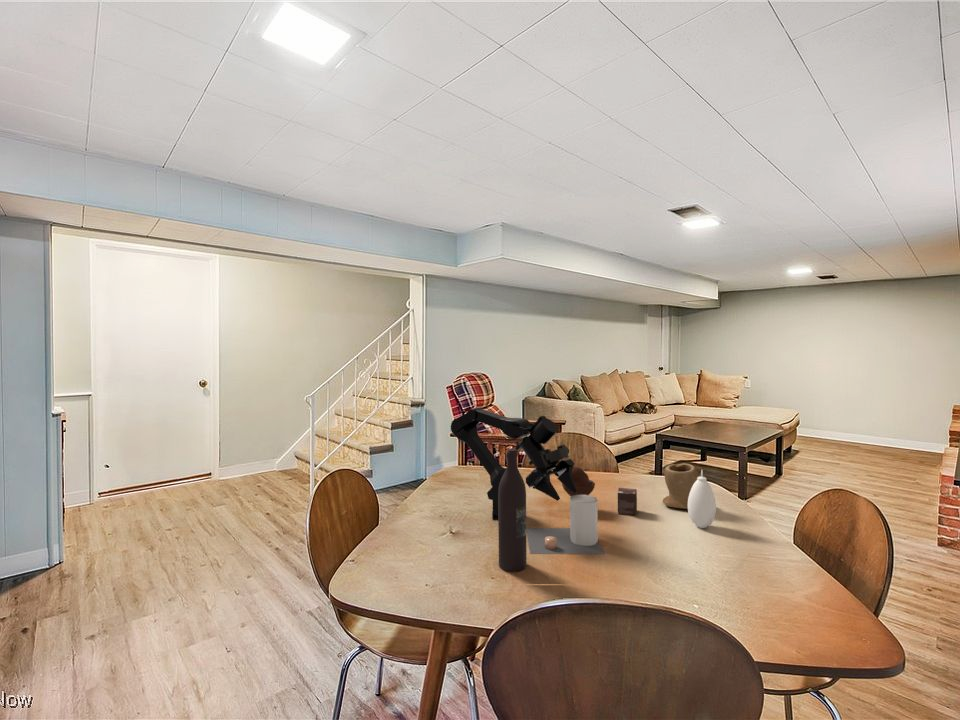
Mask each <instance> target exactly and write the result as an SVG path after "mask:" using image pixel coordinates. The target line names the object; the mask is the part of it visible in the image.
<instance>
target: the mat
mask: <svg viewBox="0 0 960 720" xmlns="http://www.w3.org/2000/svg"><path fill="white" fill-rule="evenodd" d="M548 536H553V537H556V538H557V549H555V550H548V549H546V548H545V537H548ZM526 539H527V543H528V544H527V545H528V548H529V554H530V555H606V553H605V551H604V549H603V547H602V546H601V543H600V541H599V540H598V542H597V543H596V544H594V545H591V546H582V545H577V544H575V543H573V542H571V539H570V527H568V528H567V527H526Z"/></svg>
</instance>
